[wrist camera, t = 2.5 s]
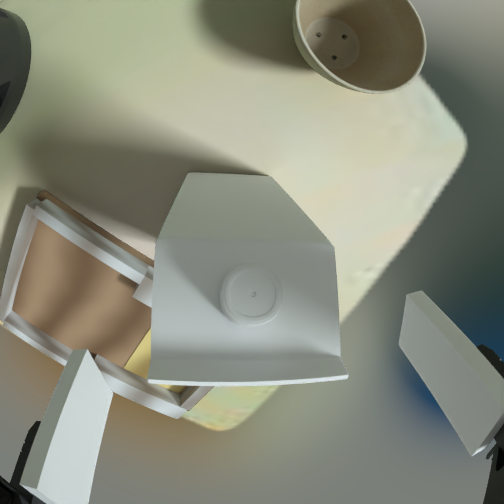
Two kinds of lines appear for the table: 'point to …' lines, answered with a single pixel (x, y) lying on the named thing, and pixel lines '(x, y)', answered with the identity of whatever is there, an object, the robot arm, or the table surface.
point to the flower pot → (361, 42)
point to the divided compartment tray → (86, 301)
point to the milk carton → (242, 289)
